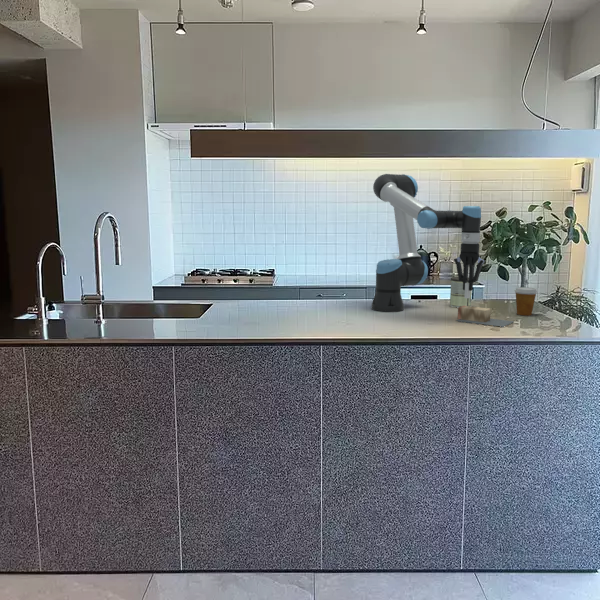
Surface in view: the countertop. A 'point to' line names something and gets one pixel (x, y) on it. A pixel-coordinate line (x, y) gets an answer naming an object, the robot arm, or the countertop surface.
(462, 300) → the lidded glass jar
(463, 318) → the oak block
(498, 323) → the mat
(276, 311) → the countertop surface
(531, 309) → the disposable coffee cup
